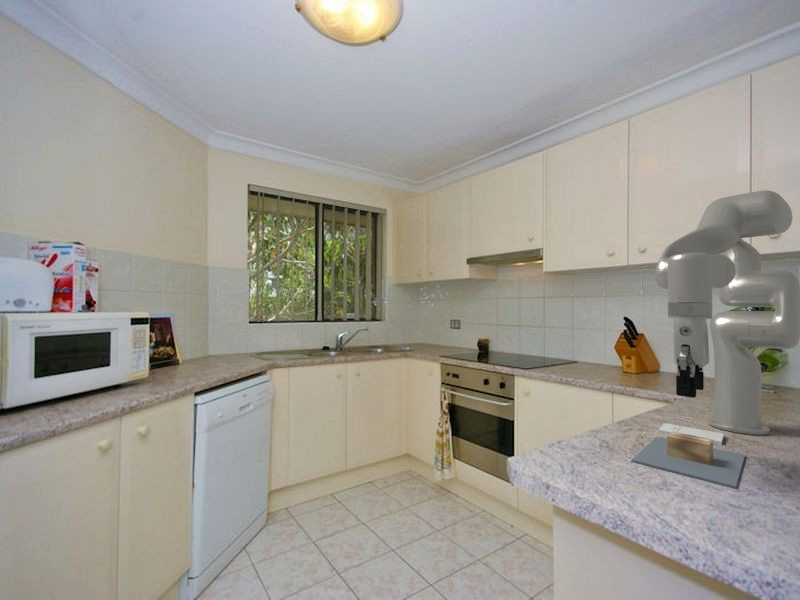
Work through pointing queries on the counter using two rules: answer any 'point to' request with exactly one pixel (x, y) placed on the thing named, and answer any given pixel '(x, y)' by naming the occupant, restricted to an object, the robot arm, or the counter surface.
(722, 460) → the mat
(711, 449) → the taped cardboard box
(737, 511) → the counter surface
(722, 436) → the external hard drive
